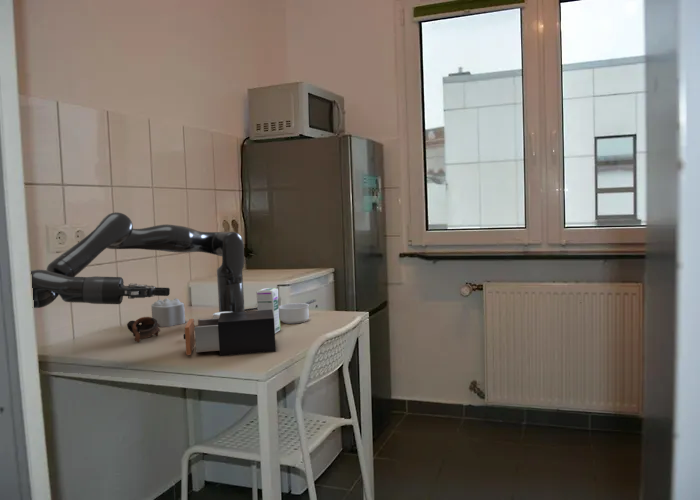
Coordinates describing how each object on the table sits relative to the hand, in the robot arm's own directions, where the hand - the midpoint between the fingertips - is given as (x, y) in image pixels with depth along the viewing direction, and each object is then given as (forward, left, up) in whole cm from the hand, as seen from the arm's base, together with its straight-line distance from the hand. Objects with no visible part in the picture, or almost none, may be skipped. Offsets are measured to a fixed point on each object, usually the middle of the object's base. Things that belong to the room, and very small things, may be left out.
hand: (169, 291), depth 157 cm
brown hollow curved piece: (-28, -13, -19) cm, 36 cm away
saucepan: (-42, +40, -19) cm, 61 cm away
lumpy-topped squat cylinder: (-53, -9, -19) cm, 57 cm away
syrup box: (-24, +28, -19) cm, 41 cm away
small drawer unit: (-5, +21, -19) cm, 29 cm away
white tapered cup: (-27, +13, -19) cm, 35 cm away
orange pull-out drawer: (-5, +10, -18) cm, 21 cm away
